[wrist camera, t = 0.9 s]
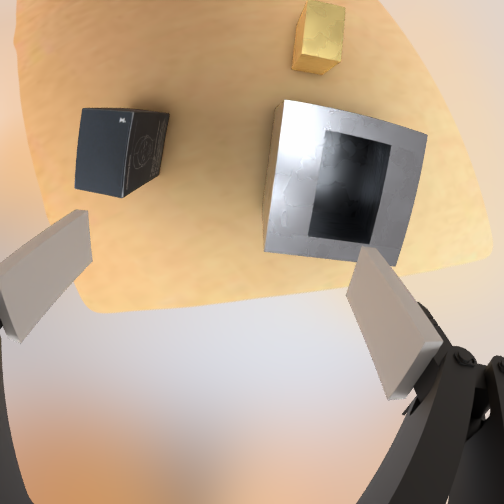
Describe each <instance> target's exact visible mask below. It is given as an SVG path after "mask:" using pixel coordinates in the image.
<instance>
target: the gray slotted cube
mask: <svg viewBox="0 0 504 504" xmlns="http://www.w3.org/2000/svg"><path fill="white" fill-rule="evenodd" d="M426 142H427V134H424V133H421V132H418V131H415V130H412V129H409V128H406V127H403V126H399V125H396V124H393V123H389V122H386V121H382V120H379V119H375V118H372V117H368V116H364V115H360V114H356V113H352V112H347V111H343V110H339V109H334V108H329V107H324V106H319V105H314V104H308V103H303V102H297V101H290V100H284V101H283V102H282V103H281V104H280V105H279V106H277V107H276V108H275V114H274V122H273V129H272V137H271V145H270V153H269V160H268V168H267V176H266V183H265V191H264V199H263V206H262V218H263V238H264V252H271V253H280V254H289V255H298V256H307V257H316V258H325V259H334V260H342V261H351V262H357V260H358V257H359V253H360V250H361V247H362V246H366V247H373V248H376V249H377V250H378V251H379V253H380V254H381V255H382V256H383V258H384V259H385V260H386V261H387V263H388V264H389V265H390V266H396V263H397V260H398V257H399V254H400V251H401V247H402V244H403V241H404V237H405V234H406V231H407V227H408V223H409V220H410V216H411V212H412V208H413V204H414V200H415V196H416V192H417V188H418V183H419V179H420V174H421V169H422V164H423V159H424V153H425V148H426Z"/></svg>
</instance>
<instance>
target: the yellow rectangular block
mask: <svg viewBox="0 0 504 504" xmlns="http://www.w3.org/2000/svg"><path fill="white" fill-rule="evenodd" d="M344 21H345V7H341V6H337V5H333V4H328V3H324V2H319V1H314V0H307V2H306V4H305V7H304V9H303V11H302V14H301V16H300V18H299V21H298V23H297V27H296V36H295V44H294V52H293V61H292V70H298V71H304V72H309V73H315V74H320V75H323V74H324V73H325V72H327V71H328V70H330V69H331V68H332V67H334V66H335V65H337V64H338V63H340V62H341V55H342V44H343V33H344Z"/></svg>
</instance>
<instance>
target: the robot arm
mask: <svg viewBox="0 0 504 504" xmlns="http://www.w3.org/2000/svg"><path fill="white" fill-rule="evenodd" d="M92 261H93V260H92V252H91V242H90V232H89V219H88V211H86V210H74V211H73V212H71V213H69V214H68V215H66V216H65V217H63V218H62V219H60V220H59V221H57V222H56V223H54V224H53V225H51V226H50V227H48V228H47V229H45V230H44V231H42V232H41V233H40V234H38V235H37V236H35V237H34V238H33V239H31V240H30V241H28V242H27V243H26V244H24V245H23V246H22V247H20V248H19V249H18V250H16V251H15V252H14V253H12V254H11V255H10V256H9V257H7V258H6V259H5V260H3V261H2V262H1V263H0V329H1V327H2V326H3V328H4V330H5V332H6V335H7V337H8V338H9V339H11V340H13V341H16V342H18V343H20V344H21V343H22V342H23V340H24V339H25V338H26V337H27V335H28V334H29V333H30V331H31V330H32V329H33V328H34V326H35V325H36V324H37V323H38V322H39V320H40V319H41V318H42V317H43V315H44V314H45V313H46V312H47V311H48V310H49V308H50V307H51V306H52V305H53V304H54V302H55V301H56V300H57V299H58V298H59V297H60V296H61V295H62V293H63V292H64V291H65V290H66V289H67V288H68V287H69V286H70V284H71V283H72V282H73V281H74V280H75V279H76V278H77V277H78V276H79V275H80V274H81V273H82V272H83V271H84V269H85V268H86V267H87V266H88V265H89V264H90V263H91V262H92ZM346 297H347V299H348V301H349V304H350V306H351V308H352V311H353V313H354V315H355V317H356V320H357V322H358V325H359V327H360V330H361V332H362V334H363V337H364V339H365V342H366V344H367V347H368V349H369V352H370V354H371V357H372V360H373V362H374V365H375V367H376V370H377V372H378V375H379V378H380V381H381V383H382V386H383V389H384V392H385V394H386V397H387V400H397V399H405V398H406V397H407V395H408V394H409V393H410V391H411V390H412V389H413V387H414V390H415V392H416V394H417V396H416V397H415V398H414V400H413V401H412V402H411V404H410V405H409V406H408V407H407V409H406V410H405V411H404V412H403V413H402V415H405V414H406V413H407V414H406V417H405V419H404V421H403V423H402V425H401V427H400V429H399V431H398V433H397V435H396V438H395V439H394V441H393V443H392V445H391V447H390V449H389V451H388V453H387V454H386V456H385V458H384V460H383V462H382V464H381V465H380V467H379V469H378V471H377V472H376V474H375V475H374V477H373V479H372V480H371V482H370V484H369V485H368V487H367V488H366V490H365V491H364V493H363V494H362V496H361V497H360V499H359V500H358V502H357V503H356V504H446V501H447V499H448V496H449V501H448V504H504V357H502V356H494V357H493V358H492V360H491V361H490V363H489V364H488V365H487V366H486V365H482V364H477V361H476V359H475V358H474V356H473V355H472V354H471V353H470V352H469V351H467V350H466V349H464V348H462V347H459V346H452V345H451V343H450V341H449V340H448V338H447V337H446V335H445V334H444V332H443V331H442V329H441V328H440V326H438V324H437V322H436V321H435V319H433V316H432V315H431V314H430V312H429V311H428V309H426V308H425V307H424V306H423V305H422V304H420V303H419V302H416V300H415V299H414V297H413V296H412V295H411V293H410V292H409V291H408V289H407V288H406V286H405V285H404V284H403V282H402V281H401V280H400V278H399V277H398V276H397V274H396V273H395V272H394V270H393V269H392V268H391V267H390V265H389V264H388V263H387V261H386V260H385V259H384V258H383V256H382V255H381V254H380V253H379V251H378V250H377V249H376V248H373V247H366V246H362V247H361V250H360V253H359V257H358V260H357V263H356V266H355V269H354V272H353V276H352V279H351V282H350V285H349V288H348V291H347V294H346ZM1 353H2V352H1V337H0V504H34V503H33V502H32V501H31V499H30V498H29V496H28V494H27V491H26V489H25V486H24V482H23V479H22V476H21V473H20V470H19V466H18V462H17V458H16V455H15V450H14V446H13V442H12V438H11V432H10V427H9V422H8V416H7V409H6V402H5V394H4V385H3V372H2V354H1ZM489 409H490V416H489V417H488V418H487V419H485V413H486V412H487V411H488V410H489Z"/></svg>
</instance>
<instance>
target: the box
mask: <svg viewBox="0 0 504 504" xmlns="http://www.w3.org/2000/svg"><path fill="white" fill-rule="evenodd" d="M168 120H169V113H163V112H155V111H147V110H138V109H129V108H83V109H82V114H81V122H80V129H79V137H78V147H77V158H76V171H75V189H79V190H84V191H89V192H94V193H100V194H105V195H109V196H114V197H119V198H124V197H125V196H126V195H128V194H130V193H131V192H133V191H134V190H136V189H137V188H139V187H141V186H142V185H144V184H145V183H147V182H149V181H150V180H152V179H154V178H155V177H157V176H158V175H159V170H160V164H161V158H162V152H163V146H164V141H165V135H166V130H167V125H168Z"/></svg>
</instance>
